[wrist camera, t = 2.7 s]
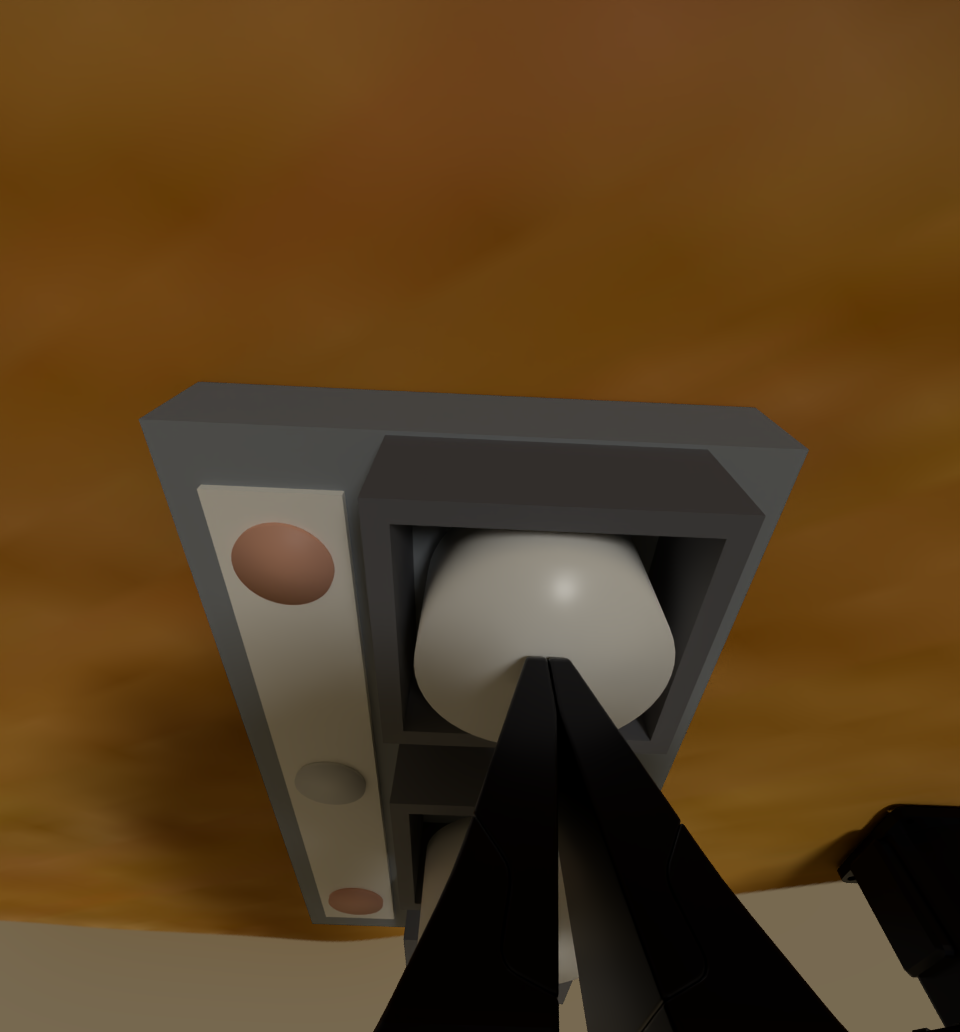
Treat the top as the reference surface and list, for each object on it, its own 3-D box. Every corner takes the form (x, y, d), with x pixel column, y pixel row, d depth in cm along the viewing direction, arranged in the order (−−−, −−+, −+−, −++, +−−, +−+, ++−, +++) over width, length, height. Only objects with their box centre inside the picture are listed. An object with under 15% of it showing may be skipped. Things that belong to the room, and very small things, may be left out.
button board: (755, 407, 13) (893, 516, 8) (589, 875, 27) (609, 1006, 22) (198, 381, 12) (44, 478, 8) (326, 866, 26) (295, 995, 22)
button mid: (600, 815, 14) (620, 923, 12) (575, 892, 17) (587, 991, 15) (424, 808, 14) (413, 915, 12) (427, 886, 17) (418, 985, 15)
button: (664, 499, 10) (708, 575, 8) (618, 662, 13) (643, 751, 11) (425, 489, 10) (409, 562, 8) (428, 654, 13) (416, 742, 11)
